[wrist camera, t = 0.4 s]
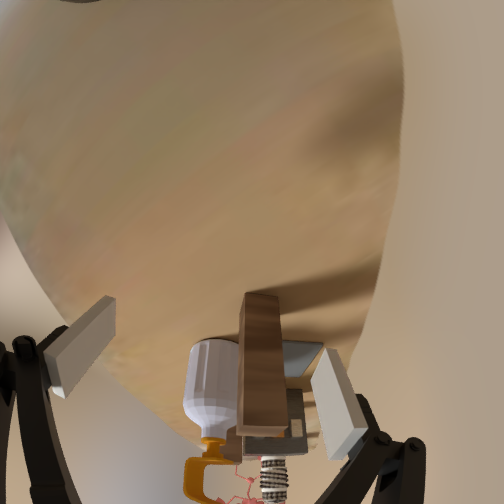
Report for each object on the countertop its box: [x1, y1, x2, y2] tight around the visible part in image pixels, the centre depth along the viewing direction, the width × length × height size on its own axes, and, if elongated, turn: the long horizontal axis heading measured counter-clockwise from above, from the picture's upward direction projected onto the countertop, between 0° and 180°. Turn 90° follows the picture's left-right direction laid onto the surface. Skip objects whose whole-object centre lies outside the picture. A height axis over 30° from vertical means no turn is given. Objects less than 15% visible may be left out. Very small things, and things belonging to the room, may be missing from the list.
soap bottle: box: [183, 339, 239, 504], centre depth 32 cm, size 9×9×25 cm
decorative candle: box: [260, 456, 289, 504], centre depth 67 cm, size 9×9×25 cm
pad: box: [282, 340, 323, 377], centre depth 42 cm, size 11×10×1 cm
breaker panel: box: [243, 389, 308, 456], centre depth 45 cm, size 4×12×14 cm, turn 79°
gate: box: [219, 293, 288, 465], centre depth 35 cm, size 29×4×16 cm, turn 169°
